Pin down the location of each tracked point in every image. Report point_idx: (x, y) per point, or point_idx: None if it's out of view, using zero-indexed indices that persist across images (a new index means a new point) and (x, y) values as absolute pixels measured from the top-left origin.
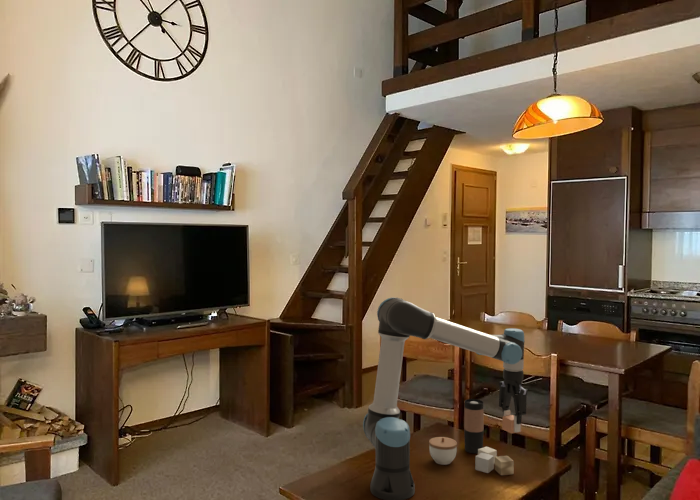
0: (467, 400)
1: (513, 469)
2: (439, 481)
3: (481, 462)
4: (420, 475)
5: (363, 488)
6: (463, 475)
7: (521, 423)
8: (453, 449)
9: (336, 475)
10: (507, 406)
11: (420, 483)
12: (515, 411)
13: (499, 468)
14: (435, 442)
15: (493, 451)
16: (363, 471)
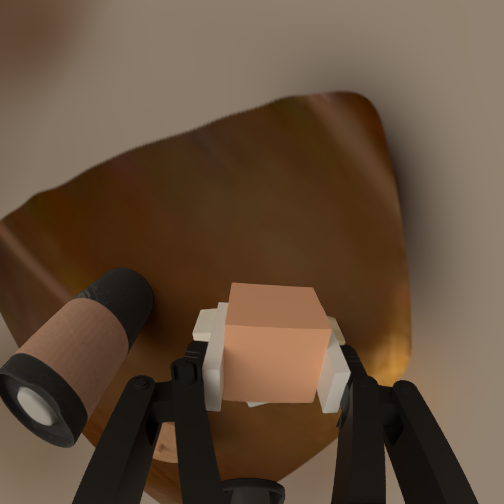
0: (8, 400)
1: (338, 326)
2: (260, 451)
3: None
4: (219, 458)
5: None
6: (263, 414)
7: (323, 311)
8: None
9: (170, 498)
10: (191, 398)
11: (249, 468)
12: (340, 431)
13: None
14: (161, 456)
15: None
16: (168, 484)
